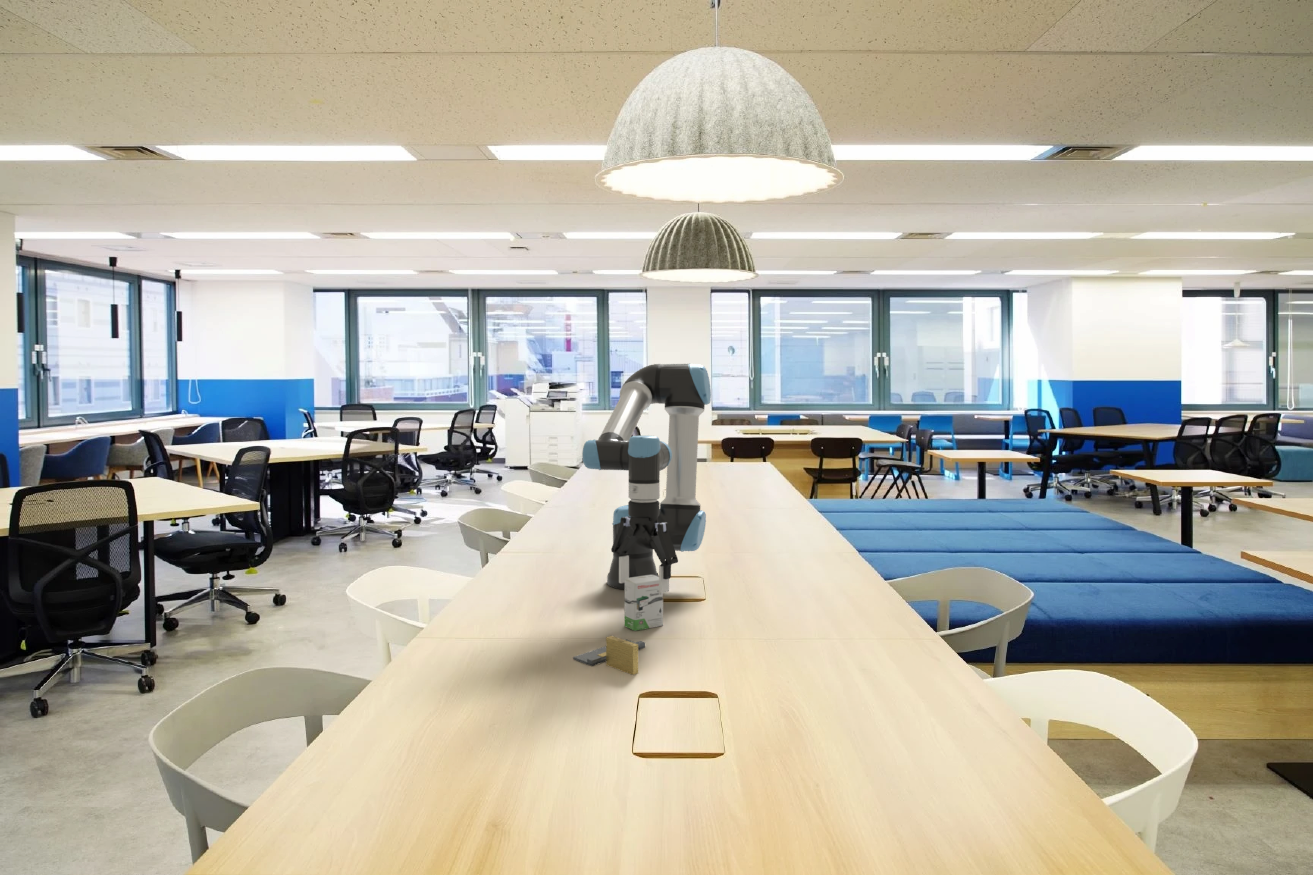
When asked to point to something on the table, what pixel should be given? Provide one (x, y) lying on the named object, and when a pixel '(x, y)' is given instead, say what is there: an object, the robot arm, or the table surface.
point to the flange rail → (615, 655)
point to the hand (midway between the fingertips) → (643, 587)
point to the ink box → (643, 603)
